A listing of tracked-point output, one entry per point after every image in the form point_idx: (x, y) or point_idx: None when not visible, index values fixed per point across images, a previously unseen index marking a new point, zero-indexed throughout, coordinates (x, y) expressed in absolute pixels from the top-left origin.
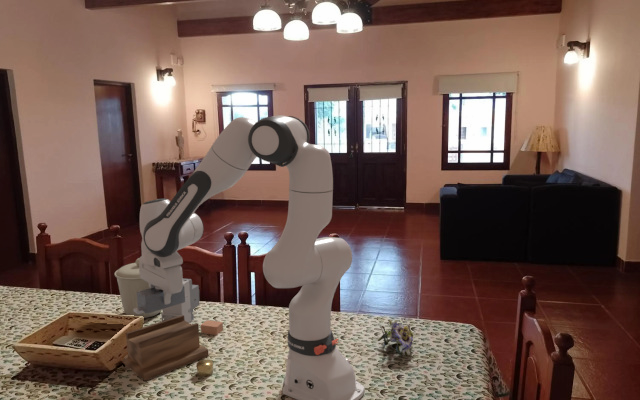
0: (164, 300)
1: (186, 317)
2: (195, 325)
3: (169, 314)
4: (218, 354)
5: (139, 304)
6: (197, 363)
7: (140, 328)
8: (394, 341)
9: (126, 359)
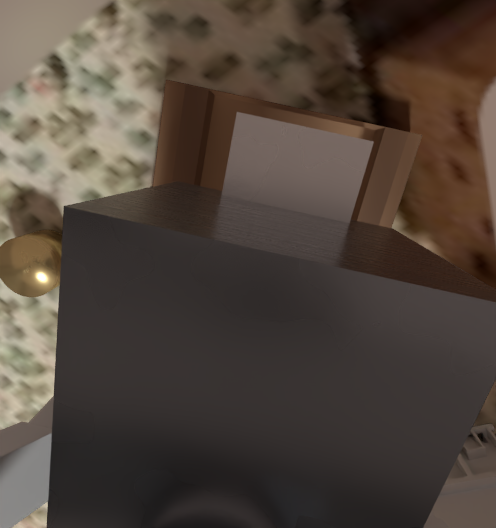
0: (51, 407)
1: None
2: None
3: (484, 480)
4: None
5: (356, 230)
6: (46, 253)
7: None
8: None
9: (351, 121)
